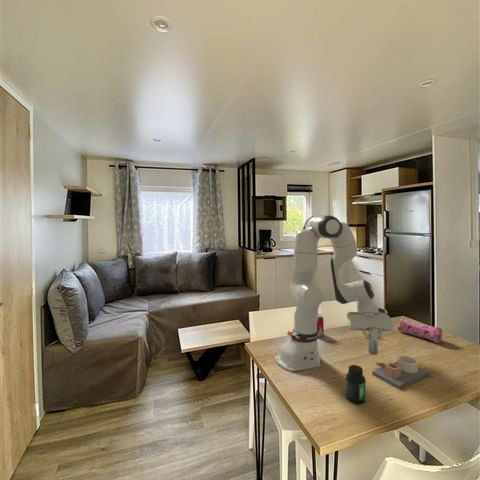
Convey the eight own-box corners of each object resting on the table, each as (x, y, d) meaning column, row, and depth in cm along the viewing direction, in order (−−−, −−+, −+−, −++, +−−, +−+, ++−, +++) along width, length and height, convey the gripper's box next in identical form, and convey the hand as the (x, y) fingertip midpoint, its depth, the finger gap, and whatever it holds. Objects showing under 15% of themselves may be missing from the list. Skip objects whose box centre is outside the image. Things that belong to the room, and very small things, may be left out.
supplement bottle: (366, 406, 98) (367, 374, 97) (346, 403, 99) (347, 371, 99) (363, 394, 104) (363, 364, 103) (344, 392, 106) (345, 362, 105)
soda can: (324, 337, 156) (324, 317, 156) (311, 337, 158) (311, 317, 157) (323, 333, 163) (323, 313, 163) (311, 332, 165) (311, 313, 164)
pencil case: (396, 333, 162) (396, 318, 161) (404, 329, 167) (404, 315, 166) (437, 346, 144) (437, 330, 143) (445, 342, 148) (445, 326, 148)
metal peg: (374, 355, 127) (374, 330, 126) (366, 351, 130) (367, 327, 129) (379, 353, 128) (380, 328, 128) (372, 350, 132) (372, 326, 131)
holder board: (399, 389, 107) (399, 375, 107) (372, 374, 118) (372, 362, 117) (428, 375, 117) (429, 362, 116) (401, 362, 127) (401, 351, 127)
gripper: (347, 308, 136) (352, 335, 127) (390, 310, 134) (398, 337, 125) (344, 314, 141) (349, 340, 132) (386, 316, 139) (393, 342, 129)
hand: (374, 339), depth 128 cm, fingers closed on metal peg, 4 cm apart
